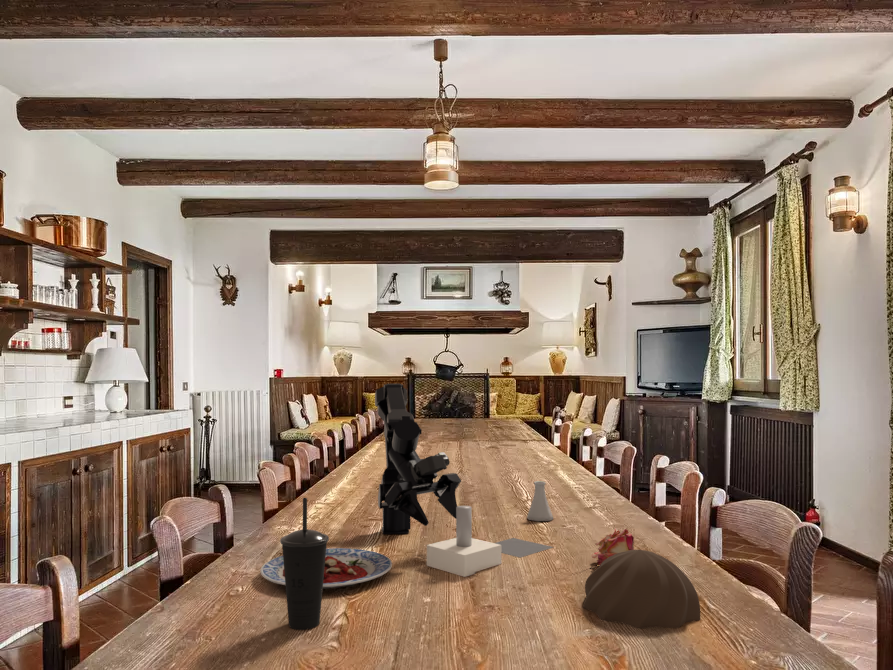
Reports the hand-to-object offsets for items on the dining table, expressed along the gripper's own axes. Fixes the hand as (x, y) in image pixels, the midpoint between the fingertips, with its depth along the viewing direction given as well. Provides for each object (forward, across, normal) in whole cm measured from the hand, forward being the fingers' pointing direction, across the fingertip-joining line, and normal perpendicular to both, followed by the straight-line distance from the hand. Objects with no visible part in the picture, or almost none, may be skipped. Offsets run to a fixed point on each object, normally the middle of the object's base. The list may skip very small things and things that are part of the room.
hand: (442, 521), depth 146 cm
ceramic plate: (0, -24, +12) cm, 27 cm away
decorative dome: (+38, +3, -26) cm, 46 cm away
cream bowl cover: (+10, 0, +1) cm, 10 cm away
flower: (+26, +20, -15) cm, 37 cm away
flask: (0, +46, +12) cm, 48 cm away
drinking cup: (+13, -42, -2) cm, 44 cm away
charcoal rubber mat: (+10, +18, +2) cm, 20 cm away
